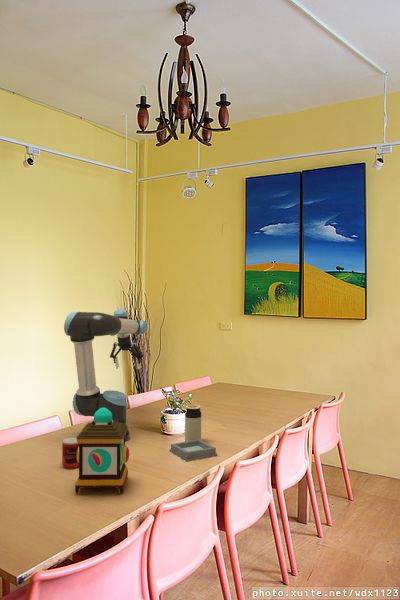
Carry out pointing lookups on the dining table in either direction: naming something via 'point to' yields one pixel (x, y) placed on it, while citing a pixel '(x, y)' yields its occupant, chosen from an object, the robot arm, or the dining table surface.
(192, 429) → the travel mug
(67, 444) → the canned food
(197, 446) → the tray
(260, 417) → the dining table surface
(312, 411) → the dining table surface
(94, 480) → the decorative lantern
